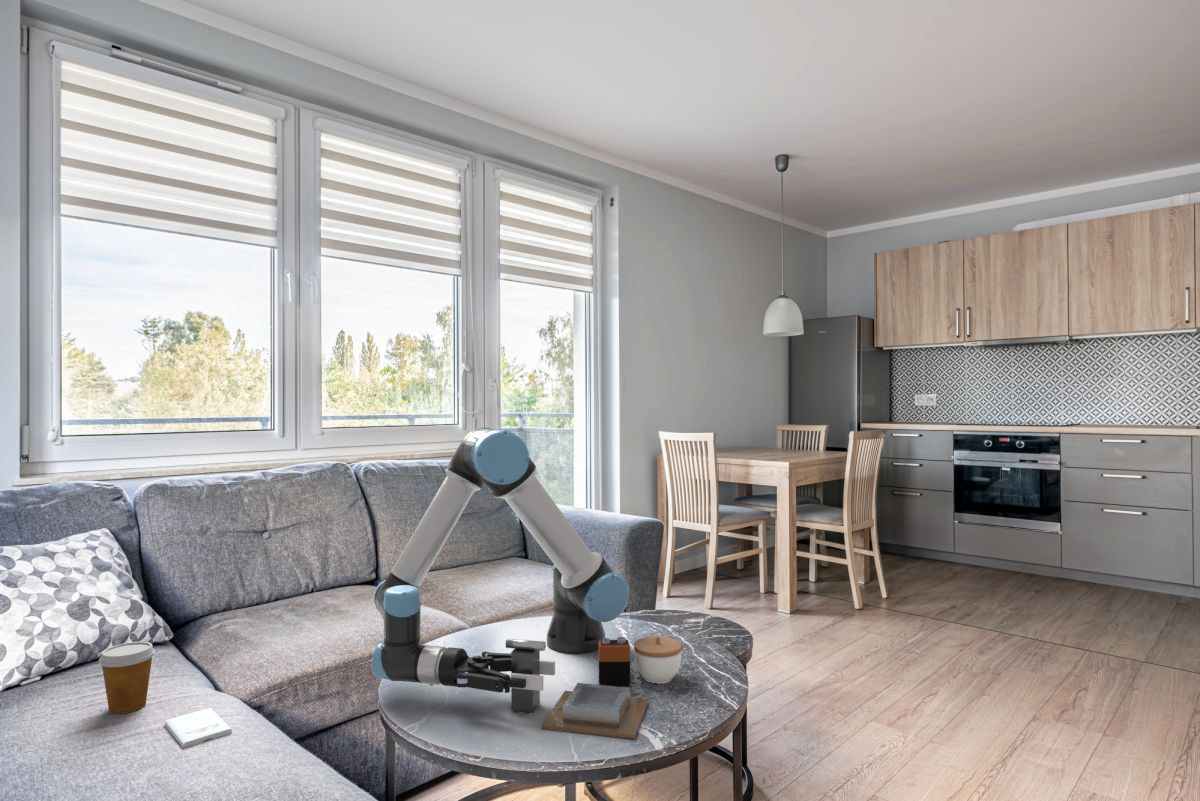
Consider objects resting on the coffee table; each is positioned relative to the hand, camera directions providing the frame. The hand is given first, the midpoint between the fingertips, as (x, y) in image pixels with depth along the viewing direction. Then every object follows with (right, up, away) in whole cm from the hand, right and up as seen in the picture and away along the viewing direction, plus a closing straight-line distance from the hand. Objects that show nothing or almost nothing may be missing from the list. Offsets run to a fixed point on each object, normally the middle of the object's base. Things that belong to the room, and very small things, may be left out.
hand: (548, 675), depth 142 cm
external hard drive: (-67, -8, -8) cm, 67 cm away
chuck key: (-5, -7, +1) cm, 9 cm away
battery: (+14, -7, +13) cm, 20 cm away
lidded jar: (+23, -7, +16) cm, 29 cm away
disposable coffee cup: (-86, -7, +2) cm, 87 cm away
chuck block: (+10, -7, -2) cm, 12 cm away
